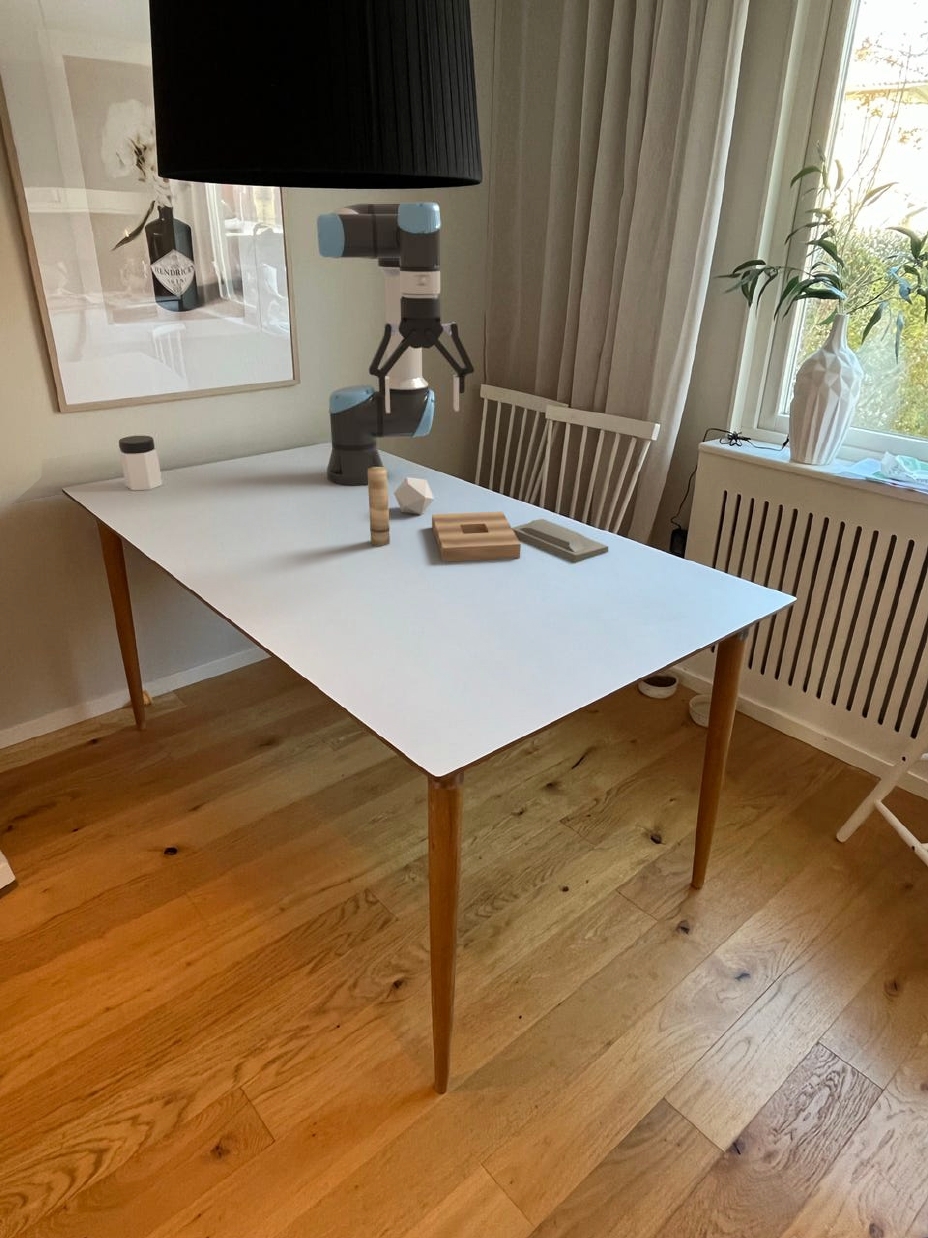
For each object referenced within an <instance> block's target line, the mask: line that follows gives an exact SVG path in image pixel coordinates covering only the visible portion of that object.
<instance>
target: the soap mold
mask: <svg viewBox="0 0 928 1238" xmlns="http://www.w3.org/2000/svg"><path fill="white" fill-rule="evenodd" d="M511 528H512V530H513V531H514V533H515V535H516V537H517V538H518V540H519V541H523V542H524V543H526V544H529V545H531V546H534V547H537V548H539V549H541V550H544V551H546V552H548V553H550V554H552V555H554V556H557V557H559V558H562V559H564V560H567V561H569V562H571V563H574V564H575V563H579V562H581V561H584V560H587V559H591V558H593V557H596V556H598V555H602V554H606V553H609V546H608V545H605V544H603V543H601V542H599V541H595V540H593V539H590V538H588V537H586V536H584V535H582V534H580V533H579V532H577V531H575V530H572V529H569V528H568V527H564V526H563V525H560V524H557V523H554V522H552V521H549V520H547V519H544V518H540V519H534V520H532V521H530V522H528V523H523V524H520V525H518V526H517V525H516V526H514V527H511Z"/></svg>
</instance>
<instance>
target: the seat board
mask: <svg viewBox="0 0 928 1238" xmlns="http://www.w3.org/2000/svg"><path fill="white" fill-rule="evenodd" d="M431 528H432V531H433V535H434V537H435V541H436V544H437V547H438V551H439V553H440V557H441V561H442V562H444V563H445V562H460V561H461V562H463V561H482V560H484V561H485V560H499V559H500V560H502V559H504V560H505V559H520V558H521V547H522V544H521V542H520V540H519V539H518V538H517V537H516V535H515V533H514V531H513V530H512V528H513V527H512V526H511V525H510V522H509V521H508V519H507V517H506V516H505V513H504V511H486V512H485V511H482V512H479V511H478V512H461V513H459V512H457V513H456V512H455V513H435V514H434V513H433V514H431Z"/></svg>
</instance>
